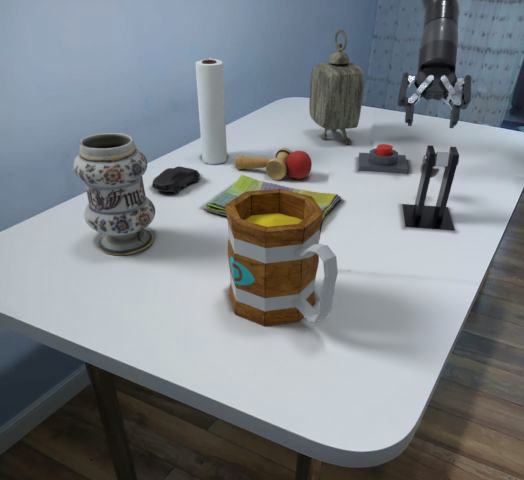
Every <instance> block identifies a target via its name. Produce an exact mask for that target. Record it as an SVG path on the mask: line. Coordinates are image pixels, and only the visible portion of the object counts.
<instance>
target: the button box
mask: <svg viewBox="0 0 524 480" xmlns="http://www.w3.org/2000/svg"><path fill="white" fill-rule="evenodd" d="M376 150H377V147H376V148H375V147H374V148H372V149H370V150H369V152H359V153H358V160H357V161H358V163H357V164H358V167H357V172H367V173H368V172H369V173H384V174H401V175H407V174H408V171H409V167H408V161H407V155H406V154H399V152H398V151H397V150H395V149H393V150H392V155H391V156H381V155H377V154H376Z"/></svg>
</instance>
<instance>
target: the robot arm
mask: <svg viewBox="0 0 524 480" xmlns="http://www.w3.org/2000/svg"><path fill="white" fill-rule="evenodd" d="M421 5H422V10H423V14H424V15H423V24H422V33H421V37H420V43H419V48H418V62H417V73H416V75H410V73H408V72H407V71H406V72H403V74H402V77H401V81H400V86H399V92H398V99H397V106H398V107H404V108H405V116H404V122H405V124H407V127H412V125H413V122H414V115H415V114H414V113H415V105H416V104H418V103H419V102H420V101H421V100H422V99H423V98H424V99H425V100H427V101H428V100H435V101H441V100H443V101H444V103H445V104H446V105H448V106H449V108H450V109H451V111H450V116H449V127H448V128H449V129H454V128H455V127H456V126H457V125H458V123H459V121H460V115H461V114H460V113H461V110H467V108H468V106H469V105H470V103H471V101H472V75H470V74H466V75H465V77H457V74H456V67H457V55H458V47H459V45H458V44H459V19H460V4H459V1H458V0H421ZM412 84H413V85H414V86H415V88H416V90H414V93H412V95H410V97H407V89H408V88H410V87H411V86H412ZM456 86H457V87H458V90H459V91H461V92H460V93H461V97H459V96H458V95H457V91H456V90H455V88H454V87H456ZM460 98H461V99H460ZM425 100H424V101H425Z"/></svg>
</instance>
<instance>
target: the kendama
mask: <svg viewBox="0 0 524 480" xmlns="http://www.w3.org/2000/svg"><path fill="white" fill-rule="evenodd" d="M234 163H235V167H236V169H237V170H246V169H264V168H265V172H266V174H267V176H268V177H269V178H270V179H272V180H274V181H280V180H283V179H284V178H285V177H286V175H288V176H289V177H290V178H292V179H295V180H302V179H304V178H306V177H307V176H308V175H310V173H311V171H312V167H313V163H312V158H311V156H310V155H309V154H308V153H307V152H306V151H303V150H294V151H292V150H290V149H289V148H287V147H282V148H280V149H278V150H277V152H276V153H275V156H274V157H273V158H265V157H259V156H257V157H255V156H246V155H245V156H244V155H237V156H236V157H235V161H234Z"/></svg>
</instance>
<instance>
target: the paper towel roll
mask: <svg viewBox="0 0 524 480" xmlns="http://www.w3.org/2000/svg"><path fill="white" fill-rule="evenodd" d="M194 67H195V76H196V77H195V78H196V92H197V105H198V116H199V131H200V143H201V144H200V145H201V159H202V161H203V162H204V163H206V164H209V165H219V164H223V163H225V162H227V160H228V151H227V150H228V149H227V147H228V146H227V130H226V129H227V127H226V103H225V102H226V100H225V99H226V98H225V77H224V75H225V74H224V62H223V61H222V60H220V59H216V58H213V57H209V58H208V59H201V60H197V61H195V64H194Z"/></svg>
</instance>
